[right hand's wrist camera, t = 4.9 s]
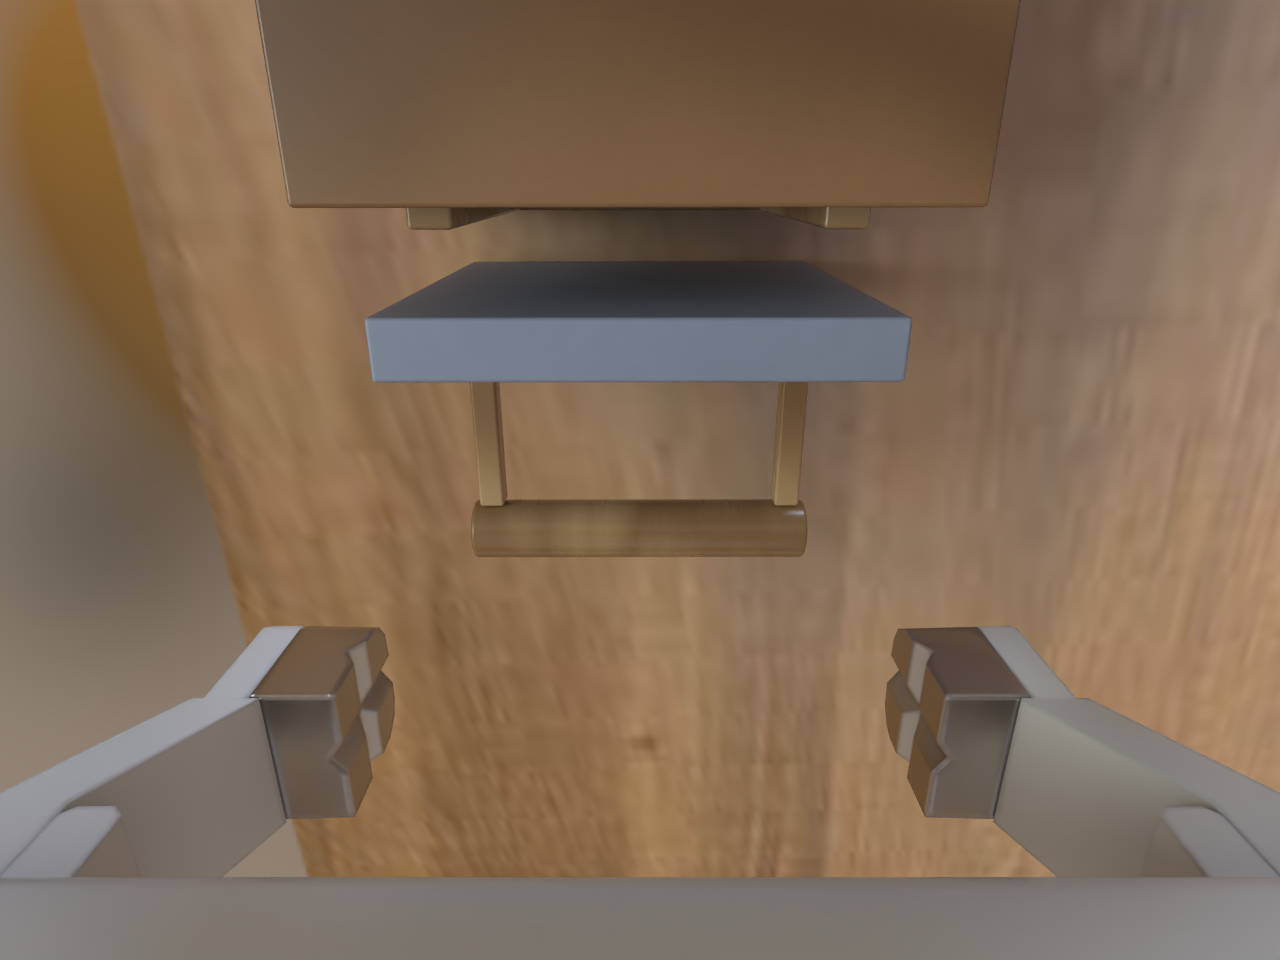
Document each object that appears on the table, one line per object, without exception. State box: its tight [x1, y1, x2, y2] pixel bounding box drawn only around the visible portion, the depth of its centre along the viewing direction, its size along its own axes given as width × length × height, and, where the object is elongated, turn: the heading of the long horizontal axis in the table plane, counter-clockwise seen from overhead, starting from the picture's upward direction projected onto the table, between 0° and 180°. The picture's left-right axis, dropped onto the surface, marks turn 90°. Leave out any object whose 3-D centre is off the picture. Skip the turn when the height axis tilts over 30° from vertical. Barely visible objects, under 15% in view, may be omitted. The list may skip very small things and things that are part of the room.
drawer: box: [365, 207, 912, 557], centre depth 17 cm, size 21×10×10 cm, turn 0°
